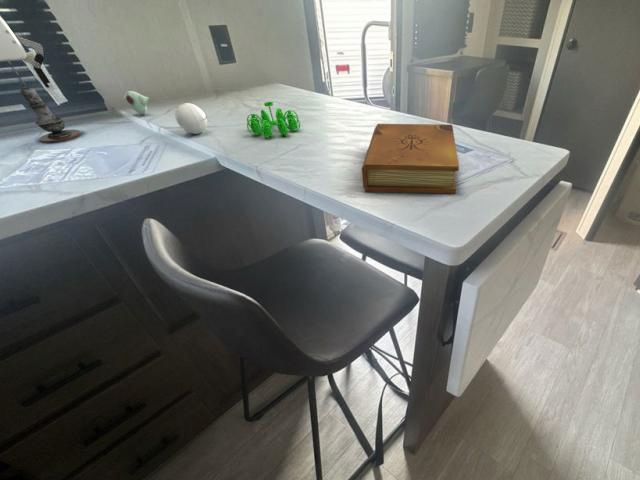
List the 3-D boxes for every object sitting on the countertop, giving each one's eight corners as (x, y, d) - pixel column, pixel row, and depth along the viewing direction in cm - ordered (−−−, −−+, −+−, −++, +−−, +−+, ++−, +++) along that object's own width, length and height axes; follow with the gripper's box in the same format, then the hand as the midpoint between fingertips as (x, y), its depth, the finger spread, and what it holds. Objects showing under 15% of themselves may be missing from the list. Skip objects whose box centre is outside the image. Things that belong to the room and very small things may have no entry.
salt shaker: (40, 137, 85) (-1, 85, 76) (61, 130, 89) (24, 80, 80) (57, 139, 84) (18, 86, 75) (78, 132, 88) (42, 81, 79)
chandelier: (262, 144, 82) (252, 115, 77) (239, 130, 90) (230, 102, 85) (312, 131, 89) (306, 103, 84) (287, 119, 97) (281, 92, 92)
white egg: (203, 138, 86) (190, 107, 80) (178, 137, 86) (163, 107, 81) (221, 126, 93) (210, 97, 87) (198, 125, 93) (185, 96, 88)
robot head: (158, 114, 101) (146, 89, 96) (149, 117, 98) (136, 92, 93) (136, 112, 102) (123, 88, 97) (127, 116, 99) (113, 91, 94)
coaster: (34, 144, 83) (32, 142, 83) (51, 133, 89) (49, 130, 89) (72, 141, 85) (70, 139, 84) (87, 130, 91) (85, 128, 90)
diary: (376, 148, 80) (374, 123, 76) (449, 149, 79) (452, 124, 75) (363, 191, 64) (361, 163, 60) (455, 193, 63) (459, 165, 59)
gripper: (8, -7, 72) (63, 82, 85) (-105, -7, 64) (-25, 91, 76) (11, -5, 69) (68, 87, 81) (-109, -5, 60) (-25, 98, 72)
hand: (23, 89), depth 79 cm, fingers open, 9 cm apart
